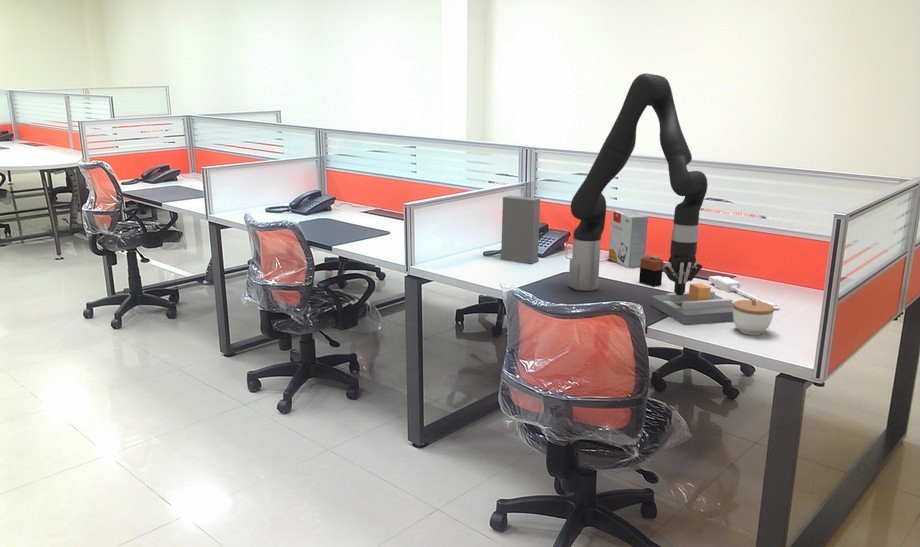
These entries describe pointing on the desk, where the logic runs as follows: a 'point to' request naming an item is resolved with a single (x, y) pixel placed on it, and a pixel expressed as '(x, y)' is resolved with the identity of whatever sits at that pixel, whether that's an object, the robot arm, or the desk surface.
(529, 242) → the tall grey upright block
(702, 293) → the handle
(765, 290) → the desk surface
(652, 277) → the battery
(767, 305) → the lidded jar
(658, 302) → the tray
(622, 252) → the hard drive box
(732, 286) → the charging cable
